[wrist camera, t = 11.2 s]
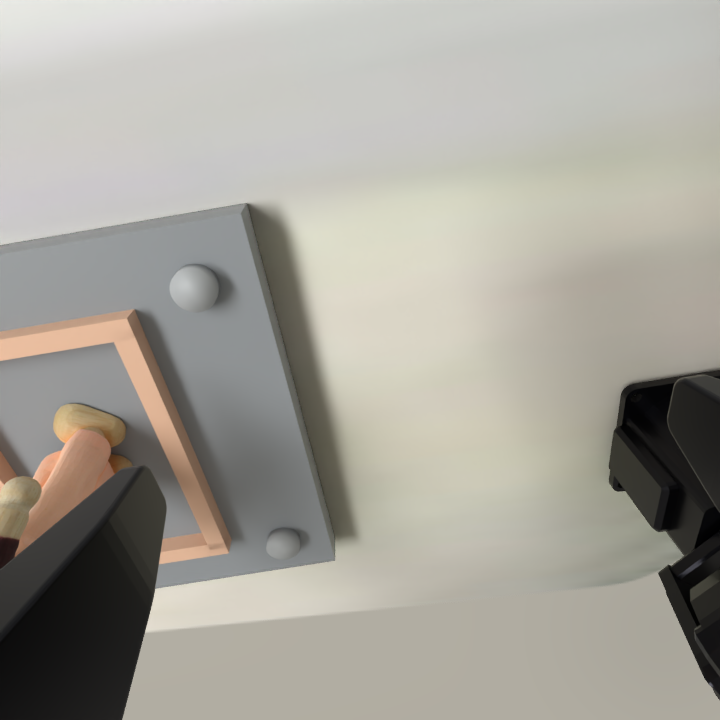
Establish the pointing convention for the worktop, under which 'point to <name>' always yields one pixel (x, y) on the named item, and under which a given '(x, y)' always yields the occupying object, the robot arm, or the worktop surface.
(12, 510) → the grandmother figurine
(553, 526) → the worktop surface
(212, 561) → the base plate
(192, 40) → the worktop surface
